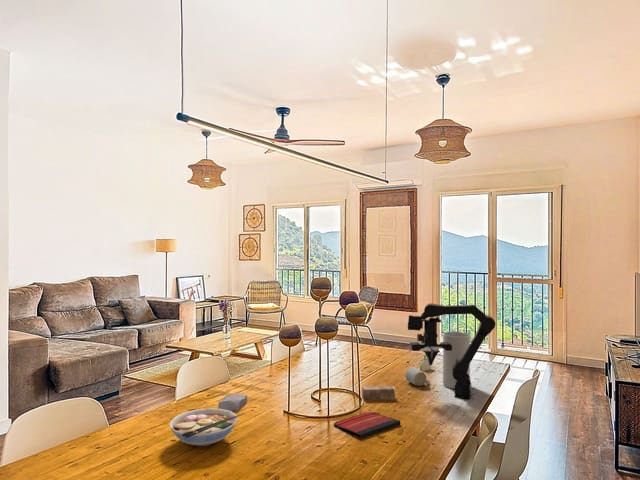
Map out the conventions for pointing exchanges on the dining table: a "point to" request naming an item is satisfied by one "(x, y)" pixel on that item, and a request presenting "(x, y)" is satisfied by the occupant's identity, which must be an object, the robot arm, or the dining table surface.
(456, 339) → the cylinder vase
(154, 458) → the dining table surface
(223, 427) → the ramen bowl
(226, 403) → the stone block
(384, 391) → the walnut block
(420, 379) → the ceramic mug
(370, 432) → the binder
